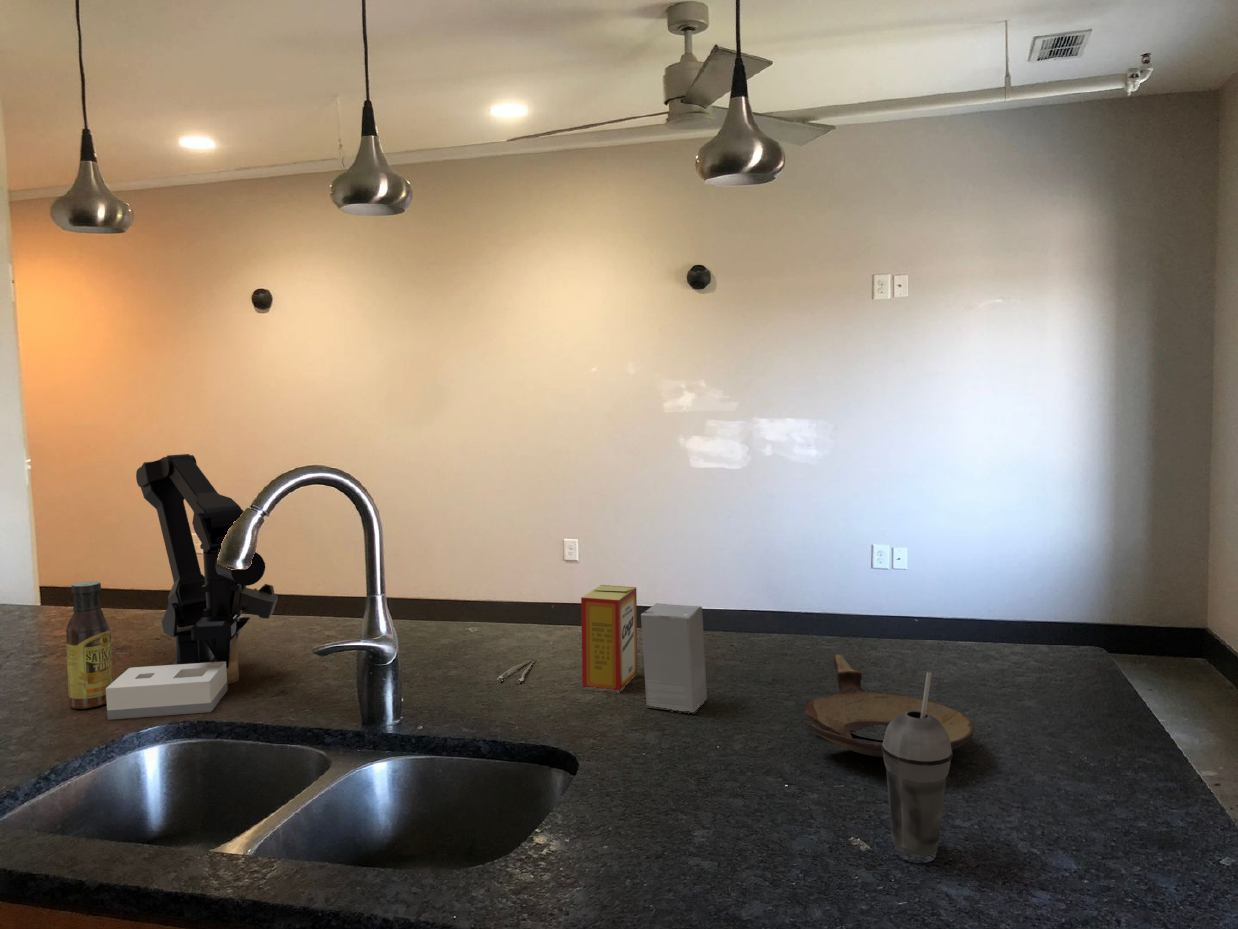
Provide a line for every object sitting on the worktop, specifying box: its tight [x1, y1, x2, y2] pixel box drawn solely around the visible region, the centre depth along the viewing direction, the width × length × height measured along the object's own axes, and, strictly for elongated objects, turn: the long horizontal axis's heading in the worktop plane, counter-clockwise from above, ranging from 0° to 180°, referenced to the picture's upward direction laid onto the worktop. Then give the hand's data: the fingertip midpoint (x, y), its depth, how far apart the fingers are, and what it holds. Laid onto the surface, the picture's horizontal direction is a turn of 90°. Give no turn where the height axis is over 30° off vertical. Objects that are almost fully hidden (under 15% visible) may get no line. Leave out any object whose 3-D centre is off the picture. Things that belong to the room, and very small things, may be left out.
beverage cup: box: [881, 671, 953, 856], centre depth 94 cm, size 7×7×20 cm
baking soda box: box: [580, 584, 638, 691], centre depth 149 cm, size 10×6×16 cm
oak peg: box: [226, 635, 240, 685], centre depth 152 cm, size 3×3×8 cm
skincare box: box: [640, 603, 708, 713], centre depth 137 cm, size 8×7×16 cm
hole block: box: [106, 661, 229, 721], centre depth 141 cm, size 10×15×5 cm, turn 100°
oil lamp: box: [804, 653, 975, 758], centre depth 124 cm, size 22×30×8 cm
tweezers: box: [496, 659, 533, 682], centre depth 158 cm, size 18×5×2 cm, turn 165°
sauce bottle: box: [65, 580, 114, 710], centre depth 141 cm, size 7×6×20 cm
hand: (227, 665), depth 152 cm, fingers closed on oak peg, 3 cm apart
